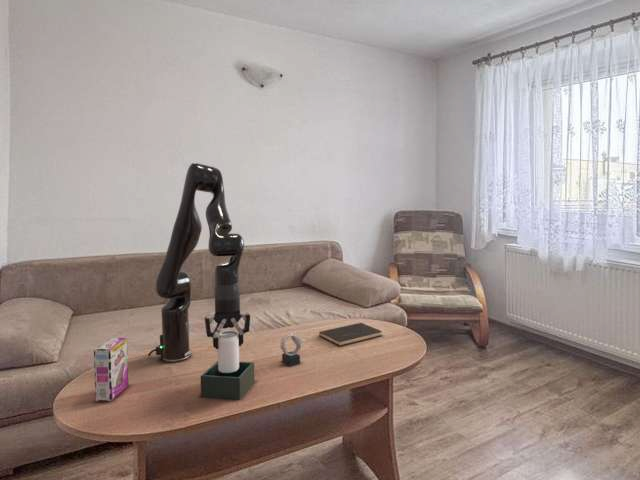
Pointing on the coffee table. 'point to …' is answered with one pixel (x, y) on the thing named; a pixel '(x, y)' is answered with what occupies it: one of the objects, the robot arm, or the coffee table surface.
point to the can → (228, 352)
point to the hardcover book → (350, 334)
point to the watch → (291, 357)
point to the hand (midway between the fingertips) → (228, 346)
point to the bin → (227, 381)
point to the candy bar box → (111, 369)
